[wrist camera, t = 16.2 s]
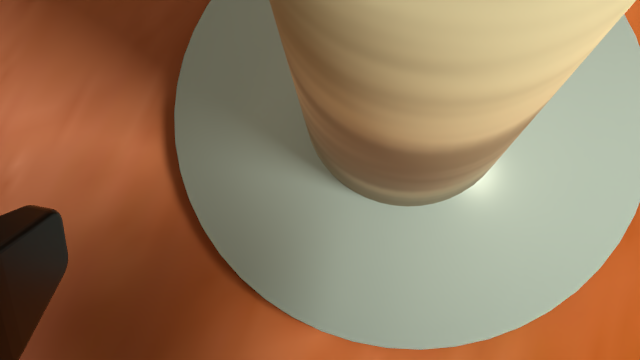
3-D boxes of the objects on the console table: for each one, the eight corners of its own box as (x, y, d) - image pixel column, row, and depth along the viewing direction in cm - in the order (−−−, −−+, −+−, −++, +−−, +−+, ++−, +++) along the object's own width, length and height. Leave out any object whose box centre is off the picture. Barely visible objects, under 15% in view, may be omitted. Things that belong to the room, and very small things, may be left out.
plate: (733, 56, 17) (746, 47, 17) (472, 455, 15) (476, 461, 15) (353, -162, 19) (353, -177, 19) (89, 162, 18) (80, 157, 17)
